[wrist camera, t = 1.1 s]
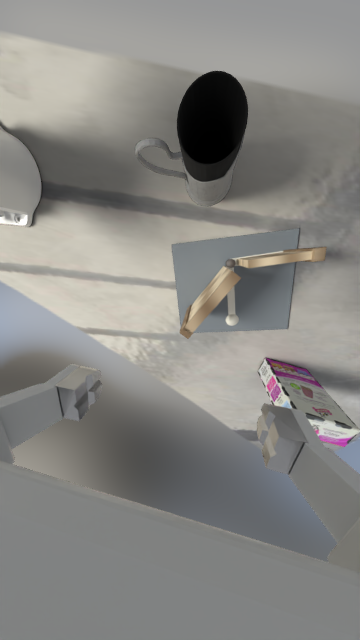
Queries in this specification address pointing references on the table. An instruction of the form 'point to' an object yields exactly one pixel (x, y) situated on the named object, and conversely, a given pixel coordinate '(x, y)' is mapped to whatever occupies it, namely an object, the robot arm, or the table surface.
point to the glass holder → (207, 136)
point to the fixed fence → (281, 257)
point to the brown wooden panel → (208, 300)
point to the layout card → (249, 292)
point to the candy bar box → (307, 400)
